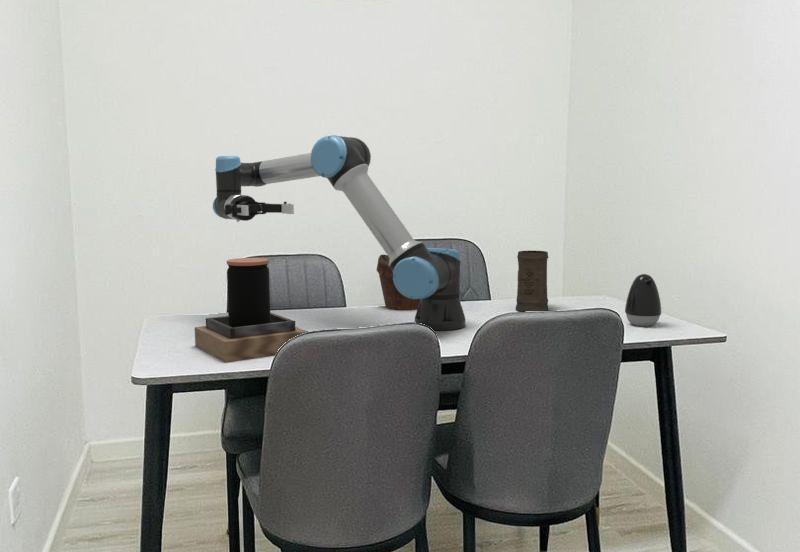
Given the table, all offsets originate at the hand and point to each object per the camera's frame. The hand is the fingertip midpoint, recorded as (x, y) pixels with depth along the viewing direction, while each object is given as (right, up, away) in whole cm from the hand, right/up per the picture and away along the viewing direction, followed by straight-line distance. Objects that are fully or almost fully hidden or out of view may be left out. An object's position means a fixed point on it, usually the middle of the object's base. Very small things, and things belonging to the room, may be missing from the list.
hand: (270, 209), depth 210 cm
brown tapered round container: (+38, -29, +48) cm, 68 cm away
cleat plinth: (-3, -37, -14) cm, 40 cm away
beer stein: (+80, -30, +42) cm, 95 cm away
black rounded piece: (+108, -33, +14) cm, 114 cm away
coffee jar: (-3, -32, -14) cm, 35 cm away
